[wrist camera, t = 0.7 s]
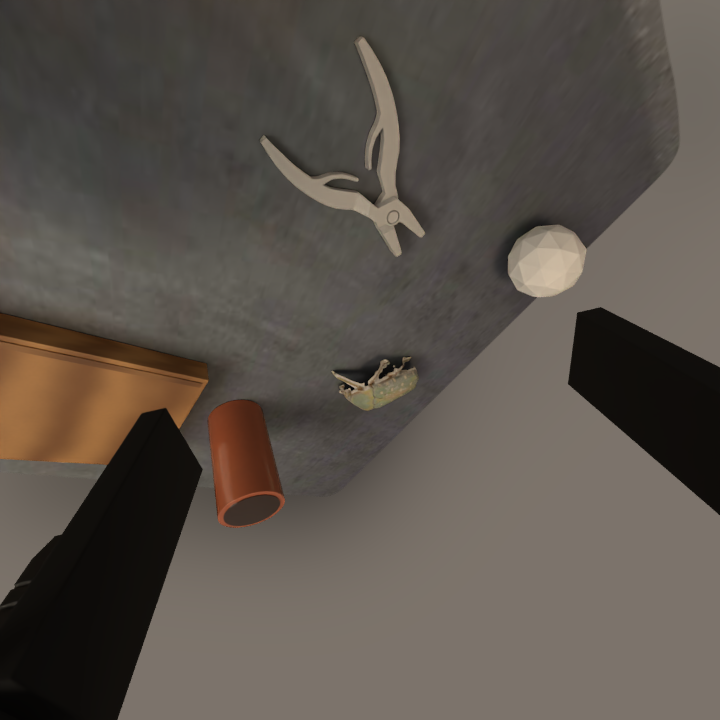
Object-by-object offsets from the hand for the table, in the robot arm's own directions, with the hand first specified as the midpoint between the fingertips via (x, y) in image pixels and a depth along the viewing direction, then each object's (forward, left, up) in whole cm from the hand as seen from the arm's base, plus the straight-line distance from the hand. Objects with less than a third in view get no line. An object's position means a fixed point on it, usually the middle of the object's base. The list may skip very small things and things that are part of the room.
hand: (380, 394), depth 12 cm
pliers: (+7, +5, -23) cm, 25 cm away
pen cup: (+10, -25, -23) cm, 36 cm away
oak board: (-6, -25, -23) cm, 35 cm away
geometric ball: (+29, +10, -23) cm, 39 cm away
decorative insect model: (+23, -13, -23) cm, 36 cm away
